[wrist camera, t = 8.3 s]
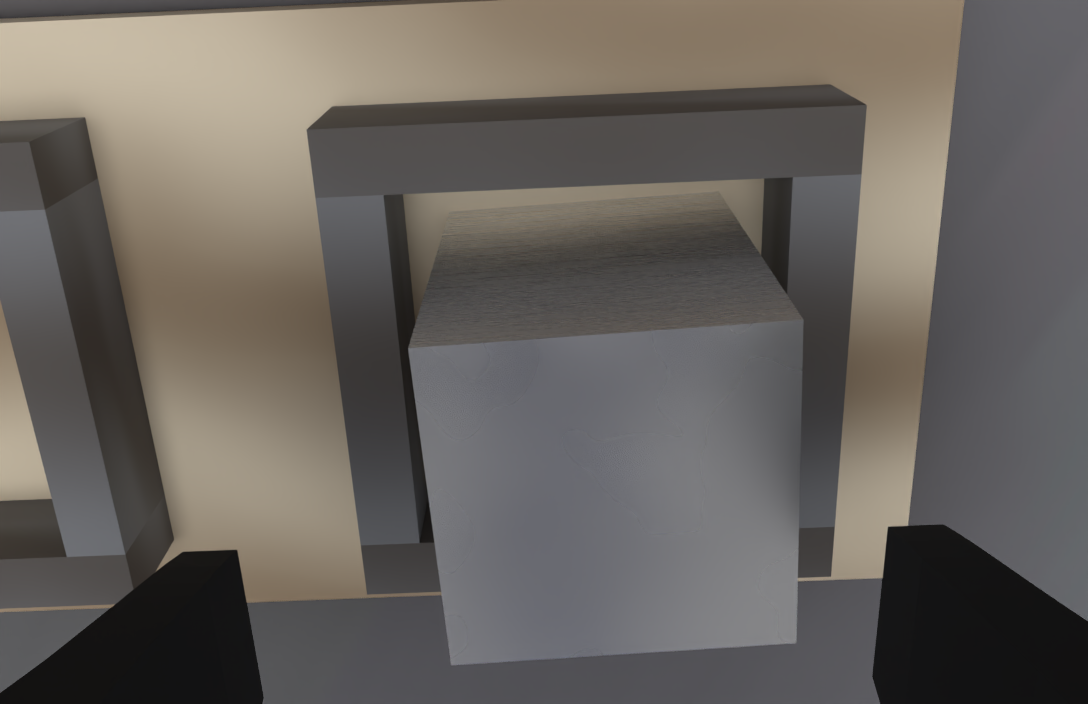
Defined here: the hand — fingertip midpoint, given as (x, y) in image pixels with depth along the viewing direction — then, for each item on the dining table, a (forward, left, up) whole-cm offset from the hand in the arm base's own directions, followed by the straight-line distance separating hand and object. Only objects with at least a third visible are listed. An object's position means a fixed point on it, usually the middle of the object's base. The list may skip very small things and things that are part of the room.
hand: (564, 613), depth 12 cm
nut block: (+1, -1, -7) cm, 7 cm away
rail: (+1, +5, -8) cm, 10 cm away
